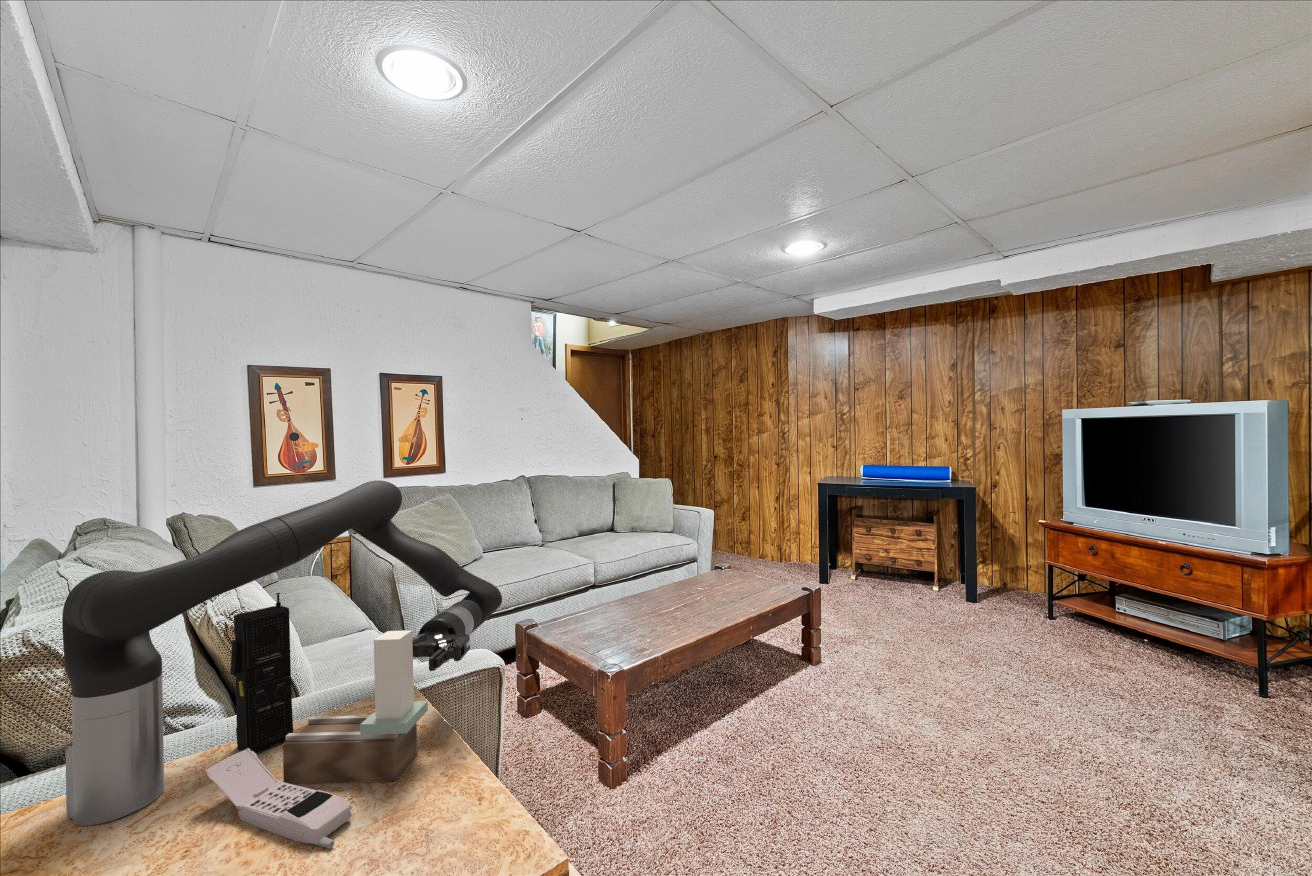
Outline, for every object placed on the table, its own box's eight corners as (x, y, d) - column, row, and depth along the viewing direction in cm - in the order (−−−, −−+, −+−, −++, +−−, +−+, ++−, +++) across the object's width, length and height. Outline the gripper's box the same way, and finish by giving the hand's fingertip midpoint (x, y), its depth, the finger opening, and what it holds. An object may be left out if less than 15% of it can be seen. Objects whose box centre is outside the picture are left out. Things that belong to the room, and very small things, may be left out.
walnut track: (283, 783, 80) (282, 737, 80) (315, 756, 87) (314, 714, 87) (394, 781, 79) (393, 735, 79) (417, 754, 86) (416, 712, 86)
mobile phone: (247, 746, 80) (365, 778, 71) (249, 785, 80) (366, 823, 70) (200, 769, 75) (321, 808, 65) (202, 812, 74) (323, 857, 65)
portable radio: (241, 761, 86) (238, 606, 87) (227, 751, 89) (224, 602, 90) (295, 738, 93) (292, 594, 93) (280, 729, 96) (277, 590, 96)
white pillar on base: (360, 734, 79) (358, 643, 80) (385, 711, 86) (383, 627, 87) (406, 733, 79) (404, 642, 80) (427, 710, 86) (425, 626, 87)
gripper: (410, 612, 103) (361, 643, 86) (483, 610, 102) (447, 641, 86) (411, 651, 102) (362, 690, 86) (484, 649, 102) (449, 687, 86)
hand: (405, 665), depth 86 cm, fingers open, 8 cm apart
